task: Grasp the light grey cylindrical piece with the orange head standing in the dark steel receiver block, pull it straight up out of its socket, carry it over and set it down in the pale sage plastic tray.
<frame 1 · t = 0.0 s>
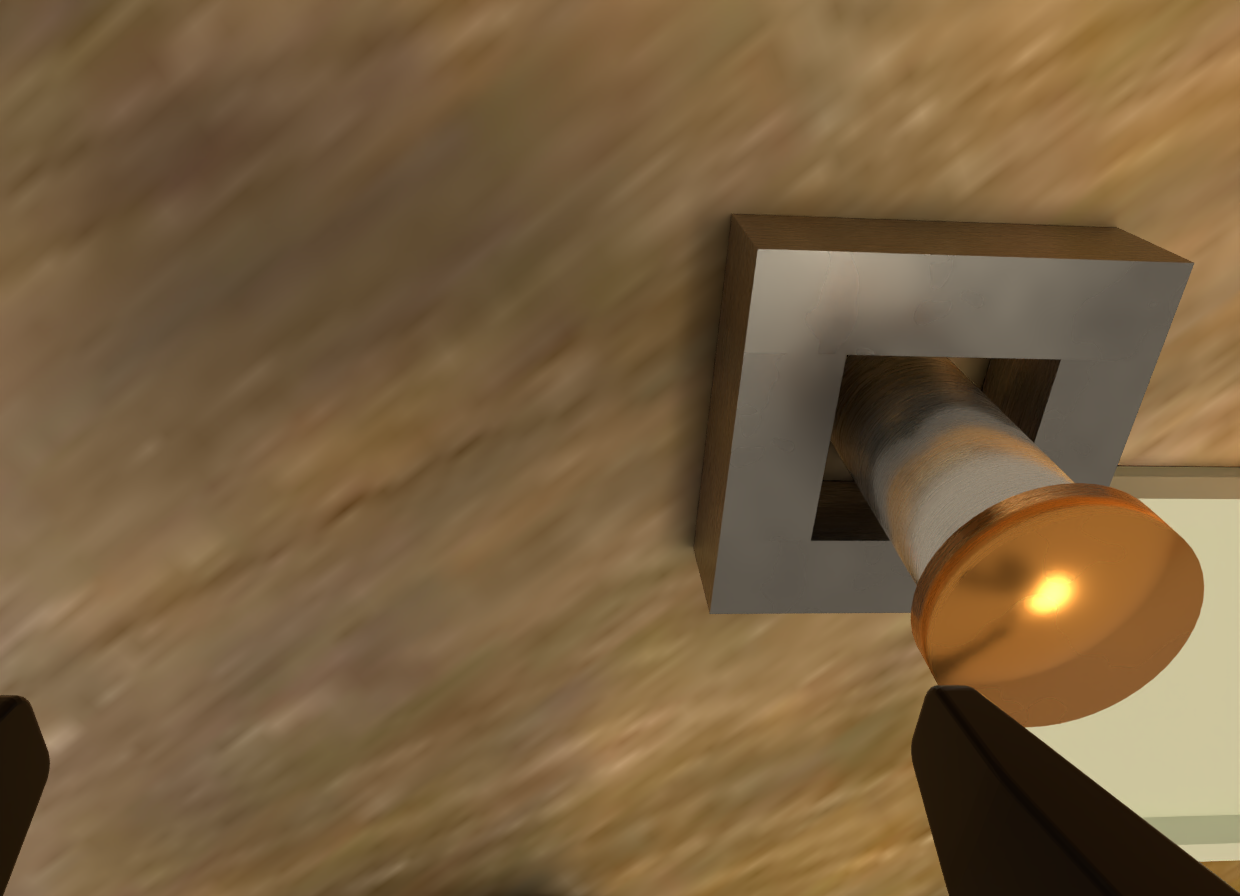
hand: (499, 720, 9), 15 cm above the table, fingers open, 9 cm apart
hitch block: (888, 401, 24), on the table
light grey cylindrical piece: (958, 491, 20), in the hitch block
tray: (1193, 667, 30), on the table
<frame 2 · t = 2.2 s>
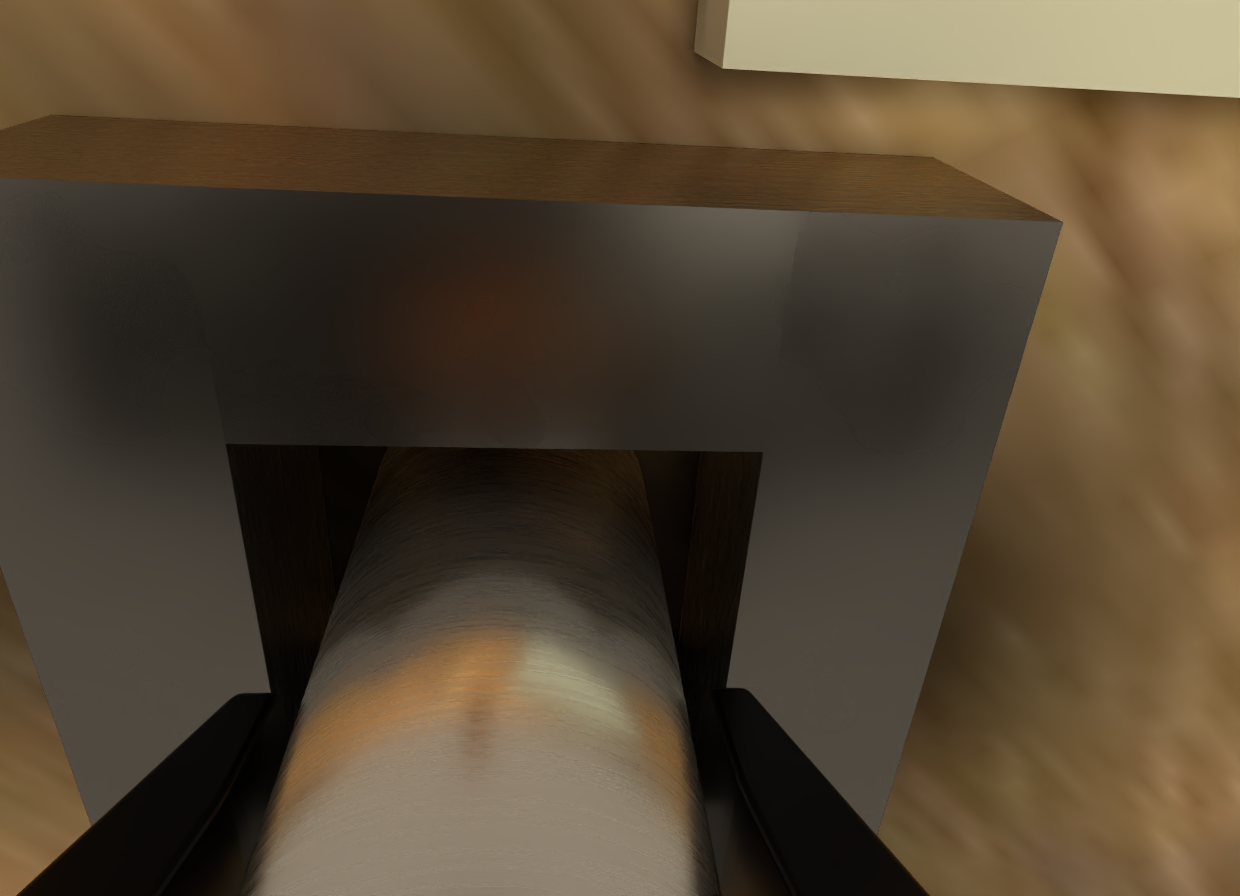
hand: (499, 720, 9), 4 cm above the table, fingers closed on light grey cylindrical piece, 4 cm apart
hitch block: (512, 505, 12), on the table
light grey cylindrical piece: (495, 777, 8), in the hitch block, touching gripper
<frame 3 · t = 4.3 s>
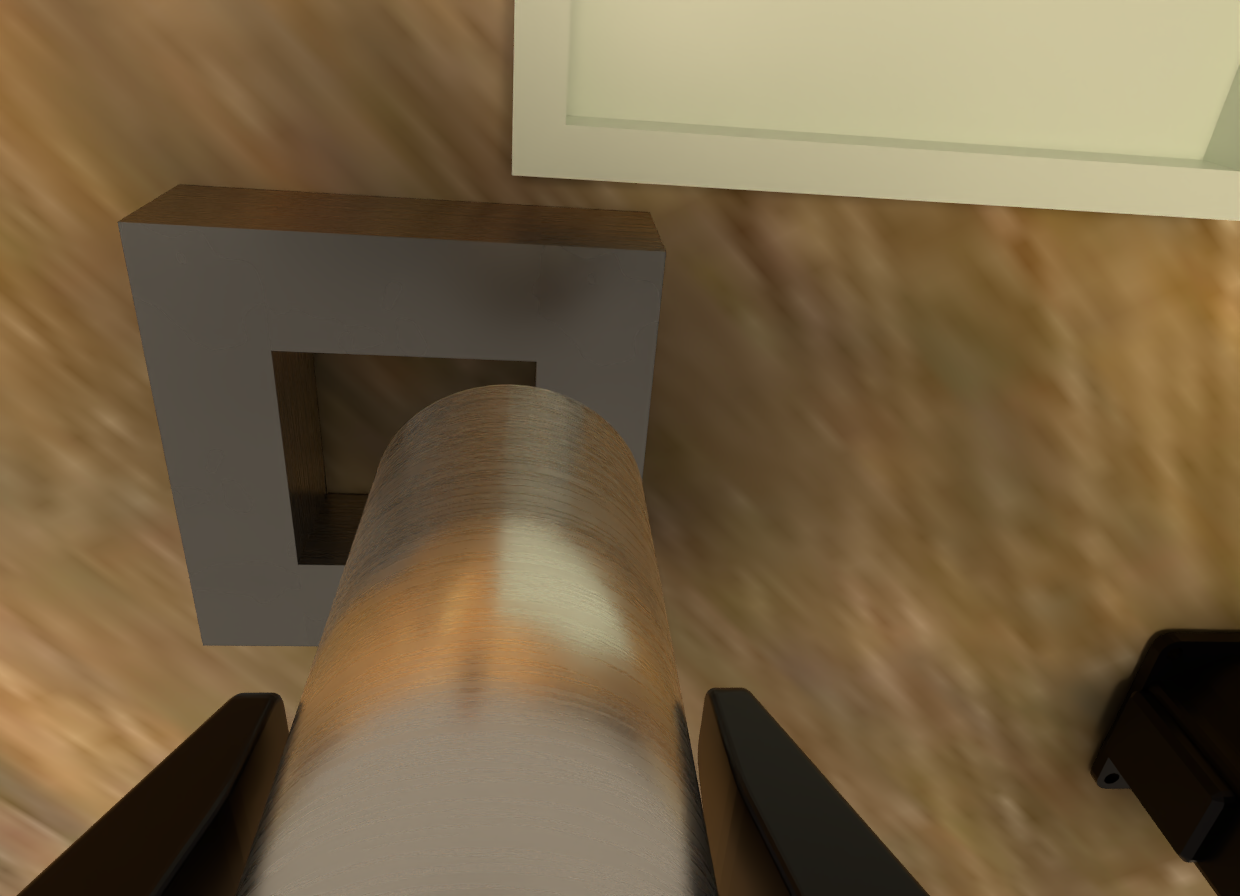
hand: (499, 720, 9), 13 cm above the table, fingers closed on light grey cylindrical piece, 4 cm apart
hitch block: (427, 406, 21), on the table
light grey cylindrical piece: (492, 778, 8), point 14 cm above the table, touching gripper
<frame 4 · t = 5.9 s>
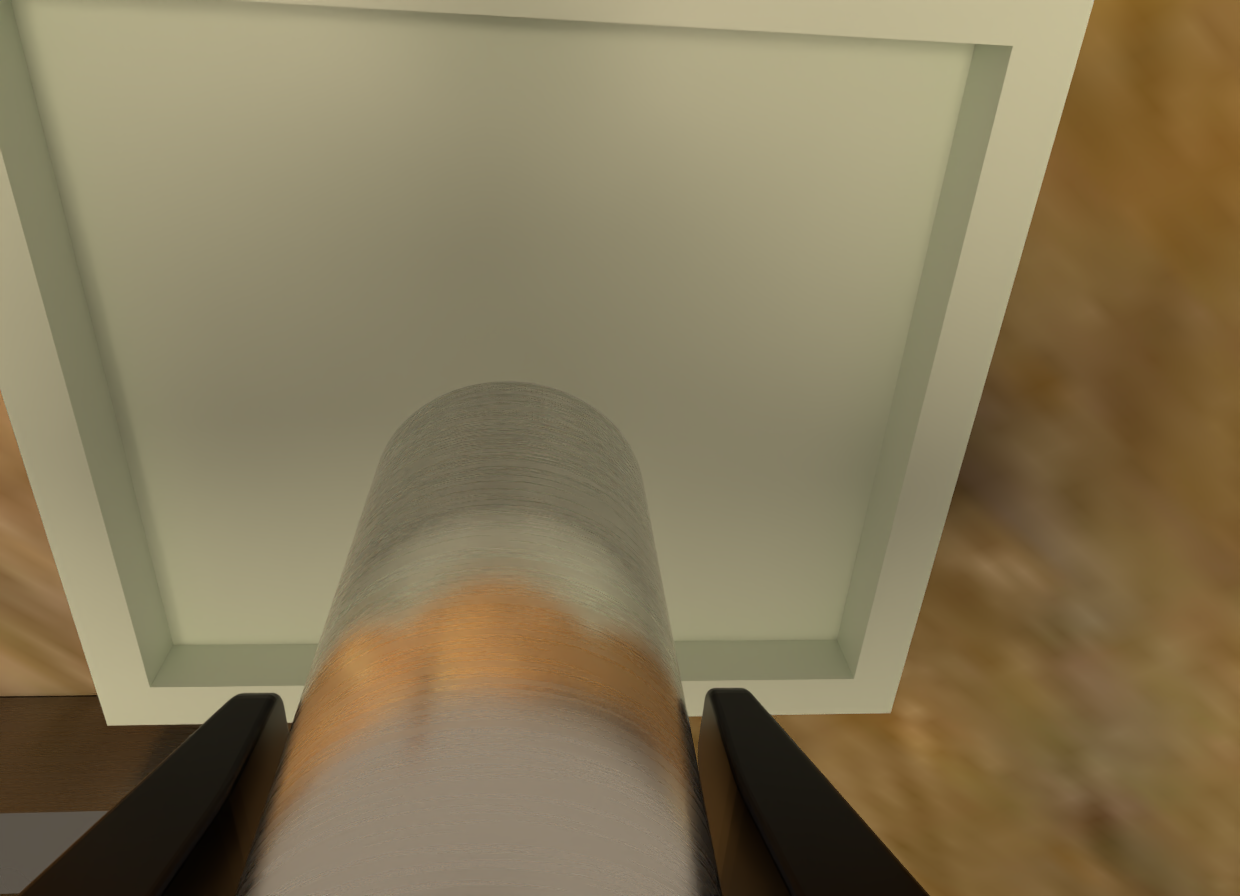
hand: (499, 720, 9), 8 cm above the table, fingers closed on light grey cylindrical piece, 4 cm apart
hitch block: (109, 845, 21), on the table
light grey cylindrical piece: (494, 775, 8), point 9 cm above the table, touching gripper
tray: (517, 372, 16), on the table
when the fingers open (5 cm above the table, at t = 6.8 s): light grey cylindrical piece stays where it is, resting on tray.
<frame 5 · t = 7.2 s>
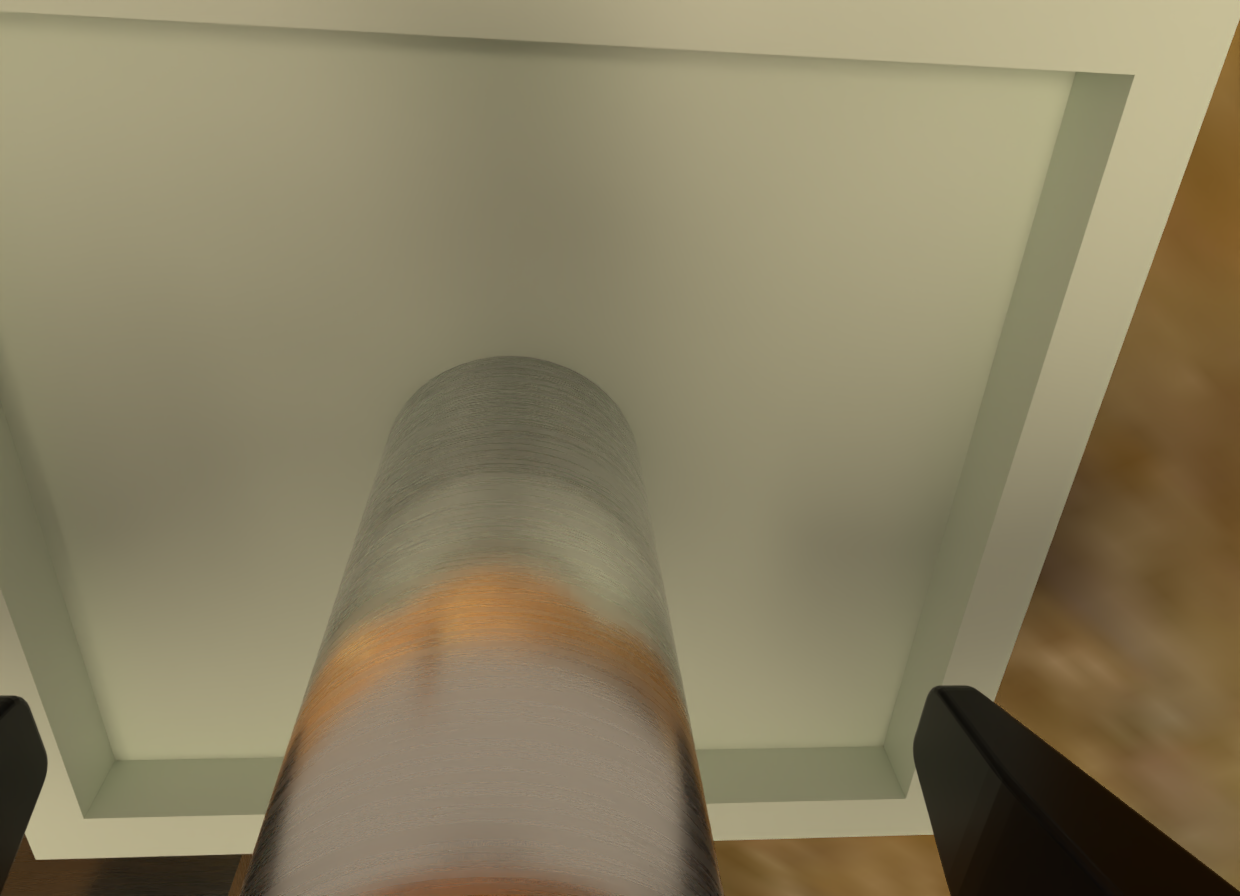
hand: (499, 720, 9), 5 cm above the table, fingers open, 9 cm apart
light grey cylindrical piece: (499, 708, 9), in the tray, point 5 cm above the table
tray: (515, 452, 14), on the table
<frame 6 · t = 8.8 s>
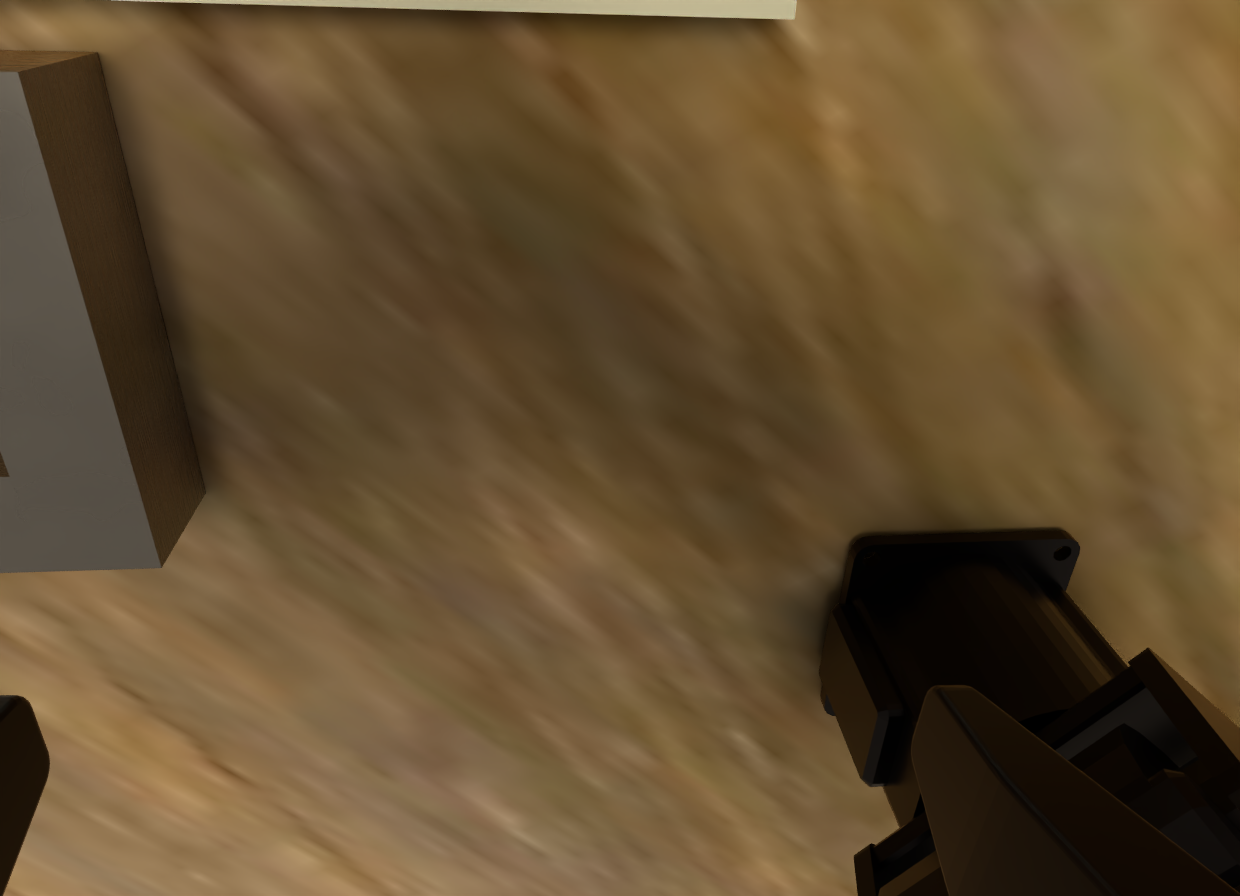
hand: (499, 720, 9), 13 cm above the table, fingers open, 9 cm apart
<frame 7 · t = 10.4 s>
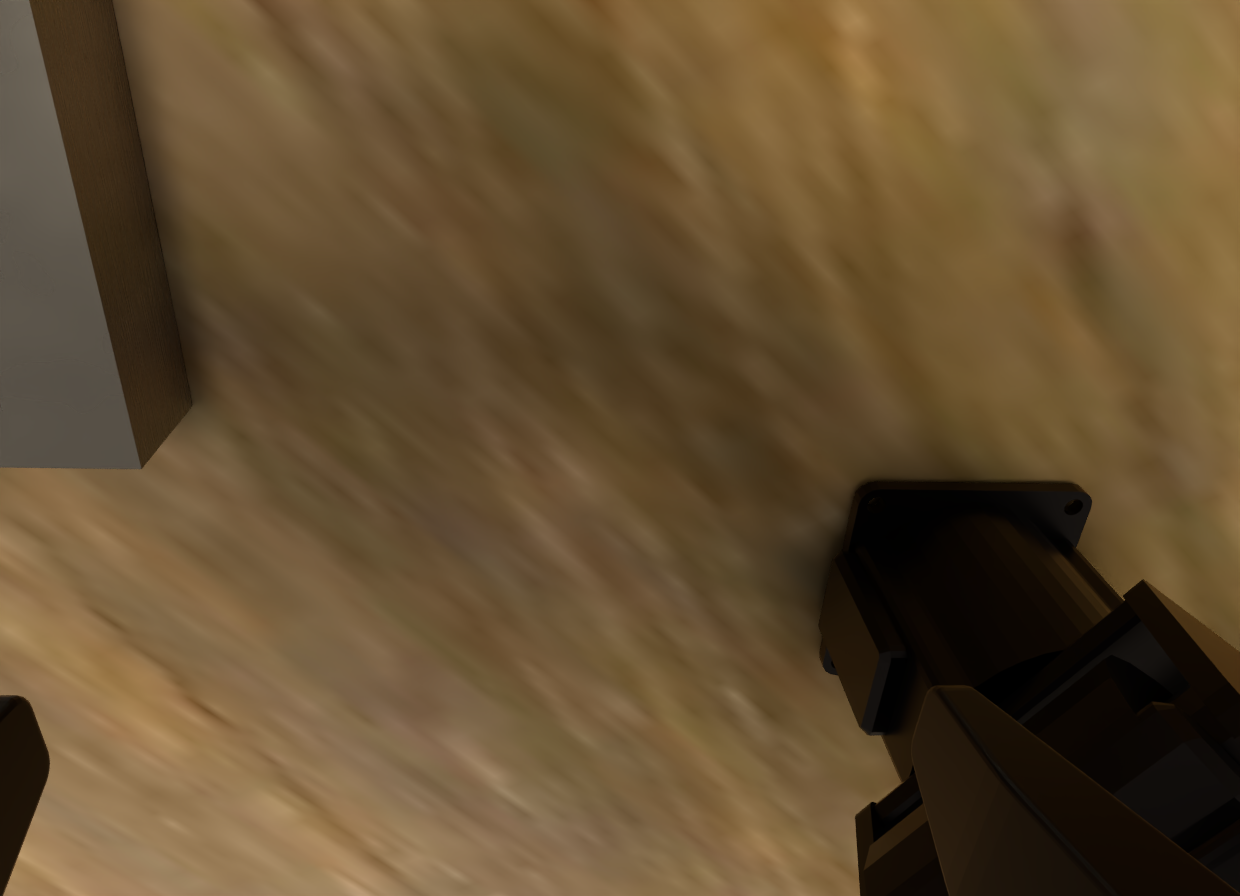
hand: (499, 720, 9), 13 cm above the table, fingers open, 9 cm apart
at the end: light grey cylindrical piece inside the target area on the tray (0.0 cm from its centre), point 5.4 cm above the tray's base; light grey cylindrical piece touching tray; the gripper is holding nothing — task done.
